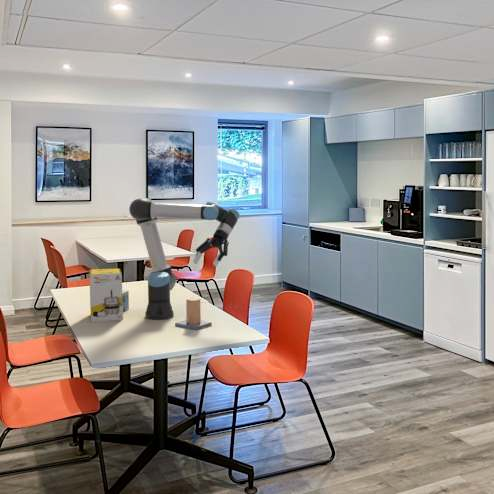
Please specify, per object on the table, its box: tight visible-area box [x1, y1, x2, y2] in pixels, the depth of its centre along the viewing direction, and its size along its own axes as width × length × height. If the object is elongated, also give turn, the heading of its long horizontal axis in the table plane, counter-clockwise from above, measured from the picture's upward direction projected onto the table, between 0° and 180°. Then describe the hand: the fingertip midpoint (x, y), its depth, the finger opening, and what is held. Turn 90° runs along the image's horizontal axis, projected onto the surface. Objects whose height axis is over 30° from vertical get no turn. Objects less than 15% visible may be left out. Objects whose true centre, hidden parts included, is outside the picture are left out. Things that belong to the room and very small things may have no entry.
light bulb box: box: [122, 289, 130, 313], centre depth 341 cm, size 11×7×11 cm, turn 169°
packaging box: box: [88, 268, 124, 322], centre depth 324 cm, size 16×16×25 cm
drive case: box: [185, 297, 201, 324], centre depth 307 cm, size 5×5×12 cm
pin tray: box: [174, 313, 213, 331], centre depth 307 cm, size 14×12×5 cm
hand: (204, 264), depth 317 cm, fingers open, 13 cm apart
